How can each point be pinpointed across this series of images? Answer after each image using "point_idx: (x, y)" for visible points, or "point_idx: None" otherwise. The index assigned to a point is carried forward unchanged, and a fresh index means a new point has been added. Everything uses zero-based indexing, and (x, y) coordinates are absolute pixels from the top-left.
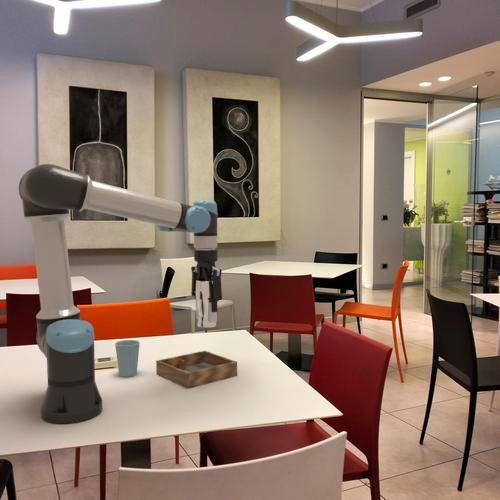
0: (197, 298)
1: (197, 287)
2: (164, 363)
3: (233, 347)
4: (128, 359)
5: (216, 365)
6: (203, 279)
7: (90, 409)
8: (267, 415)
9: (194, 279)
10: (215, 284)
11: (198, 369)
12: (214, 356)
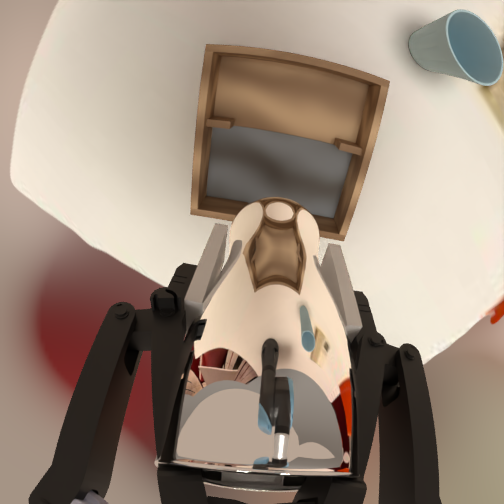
0: (291, 297)
1: (289, 394)
2: (347, 70)
3: None
4: (430, 25)
5: None
6: (309, 485)
7: None
8: (31, 100)
9: (410, 463)
10: (70, 408)
11: (302, 163)
12: None
